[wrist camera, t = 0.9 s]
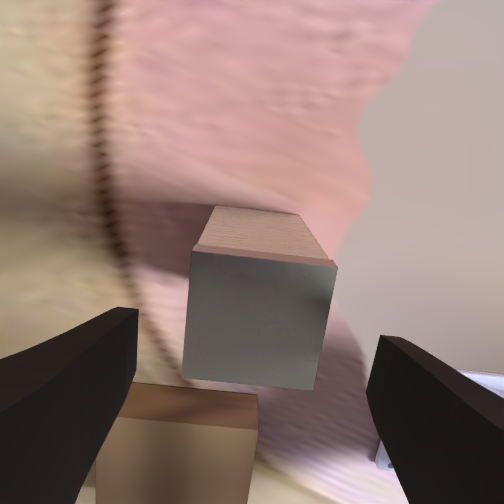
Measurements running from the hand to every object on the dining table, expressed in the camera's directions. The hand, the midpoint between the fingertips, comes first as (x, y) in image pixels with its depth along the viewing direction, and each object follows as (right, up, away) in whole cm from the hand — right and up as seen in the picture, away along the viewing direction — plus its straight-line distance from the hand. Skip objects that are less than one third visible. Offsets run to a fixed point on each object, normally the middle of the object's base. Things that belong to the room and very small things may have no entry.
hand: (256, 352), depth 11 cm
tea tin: (0, +3, +10) cm, 10 cm away
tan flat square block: (-5, -10, +14) cm, 18 cm away
